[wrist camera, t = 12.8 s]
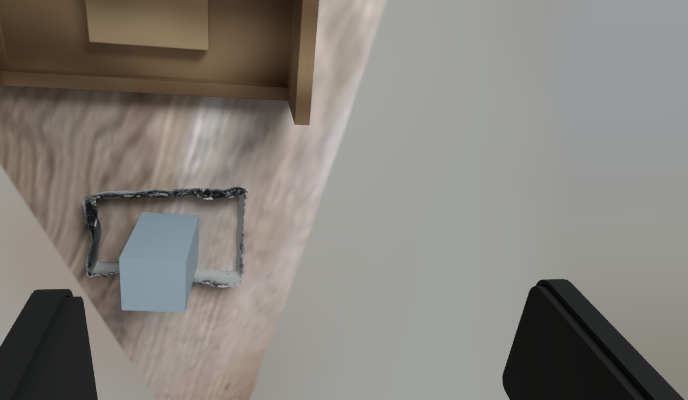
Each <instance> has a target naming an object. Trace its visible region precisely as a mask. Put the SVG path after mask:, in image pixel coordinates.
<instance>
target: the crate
mask: <svg viewBox="0 0 688 400" xmlns="http://www.w3.org/2000/svg"><path fill="white" fill-rule="evenodd" d="M318 5H319V0H0V88H1V87H3V86H4V85H8V86H27V87H45V88H64V89H83V90H101V91H120V92H138V93H157V94H175V95H194V96H212V97H231V98H249V99H268V100H287V101H288V103H289V106H290V110H291V113H292V117H293V120H294V124H295V125H309V122H310V109H311V96H312V83H313V70H314V57H315V44H316V31H317V18H318Z"/></svg>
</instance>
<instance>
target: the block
mask: <svg viewBox="0 0 688 400" xmlns="http://www.w3.org/2000/svg"><path fill="white" fill-rule="evenodd" d="M198 238H199V216H195V215H181V214H167V213H152V212H142V214H141V216H140V218H139V220H138V222H137V224H136V226H135V228H134V230H133V232H132V234H131V236H130V238H129V240H128V242H127V244H126V246H125V248H124V250H123V252H122V254H121V256H120V258H119V269H120V287H121V306H122V310H132V311H157V312H182V313H185V311H186V307H187V303H188V299H189V295H190V291H191V287H192V283H193V279H194V275H195V271H196V267H197V263H198Z"/></svg>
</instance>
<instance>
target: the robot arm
mask: <svg viewBox="0 0 688 400" xmlns="http://www.w3.org/2000/svg"><path fill="white" fill-rule="evenodd" d="M503 386H504V389H505V391H506V393H507V395H508V397H509V399H510V400H684V399H683V398H682V397H681V396H680V395H679V394H678V393H677V392H676V391H675V390H674V389H673V388H672V387H671V386H670V385H669V384H668V383H667V382H666V380H664V378H663V377H662V376H661V375H660V374H659V373H658V372H657V371H656V370H655V369H654V368H653V367H652V366H651V365H650V364H649V363H648V362H647V361H646V360H645V359H644V358H643V357H642V356H641V355H640V354H639V353H638V351H636V350H635V348H634V347H633V346H631V344H630V343H629V342H628V341H627V340H626V339H625V338H624V337H623V336H622V335H621V334H620V333H619V332H618V331H617V330H616V329H615V328H614V327H613V326H612V325H611V324H610V323H609V322H608V320H606V318H605V317H604V316H603V315H602V314H601V313H600V312H599V311H598V310H597V309H596V308H595V307H594V306H593V305H592V304H591V303H590V302H589V301H588V300H587V299H586V298H585V297H584V296H583V295H582V294H581V293H580V292H579V291H578V290H577V288H576V287H575V286H574V285H573V284H572V283H571V282H569V281H568V280H565V279H551V280H540V281H539V282H538V283H537V284H536V286H534V287H532V288H531V289H530V292H529V294H528V297H527V300H526V304H525V307H524V310H523V314H522V316H521V319H520V322H519V325H518V329H517V332H516V335H515V338H514V341H513V345H512V347H511V351H510V354H509V357H508V360H507V363H506V366H505V369H504V372H503ZM0 400H98V399H97V391H96V385H95V378H94V371H93V364H92V357H91V350H90V343H89V337H88V330H87V323H86V317H85V309H84V303H83V299H82V297H73V294H72V292H71V291H70V290H69V289H46V290H35V291H34V292H33V293H32V294H31V296H30V298H29V299H28V301H27V303H26V304H25V306H24V308H23V309H22V311H21V313H20V315H19V316H18V318H17V319H16V321H15V323H14V324H13V326H12V328H11V330H10V331H9V333H8V335H7V336H6V338H5V340H4V341H3V343H2V345H1V346H0Z"/></svg>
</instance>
